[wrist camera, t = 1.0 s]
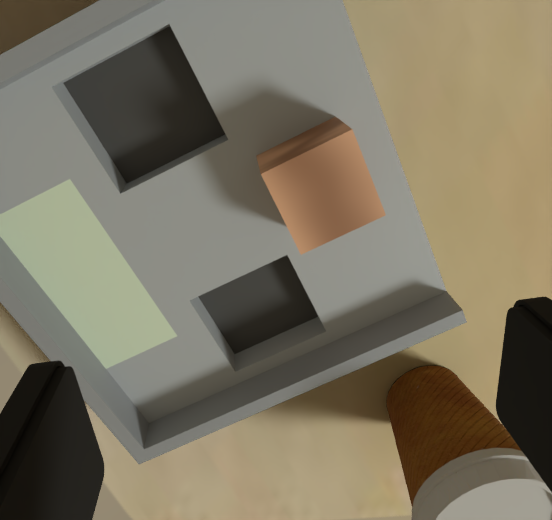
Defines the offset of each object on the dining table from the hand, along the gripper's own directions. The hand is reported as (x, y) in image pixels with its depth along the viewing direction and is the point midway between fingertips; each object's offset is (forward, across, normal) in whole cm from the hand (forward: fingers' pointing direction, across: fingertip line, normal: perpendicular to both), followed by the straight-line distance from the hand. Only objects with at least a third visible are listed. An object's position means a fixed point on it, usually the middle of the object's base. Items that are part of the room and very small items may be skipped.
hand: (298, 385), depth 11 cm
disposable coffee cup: (+23, -12, +21) cm, 33 cm away
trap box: (+22, +3, +3) cm, 23 cm away
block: (+20, -4, +1) cm, 20 cm away
